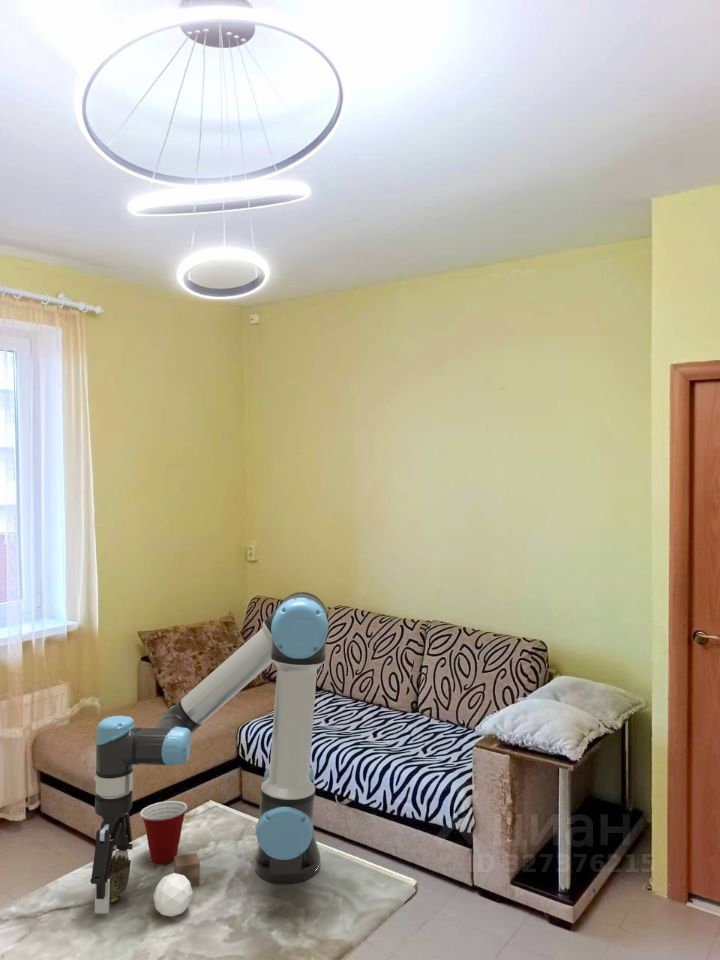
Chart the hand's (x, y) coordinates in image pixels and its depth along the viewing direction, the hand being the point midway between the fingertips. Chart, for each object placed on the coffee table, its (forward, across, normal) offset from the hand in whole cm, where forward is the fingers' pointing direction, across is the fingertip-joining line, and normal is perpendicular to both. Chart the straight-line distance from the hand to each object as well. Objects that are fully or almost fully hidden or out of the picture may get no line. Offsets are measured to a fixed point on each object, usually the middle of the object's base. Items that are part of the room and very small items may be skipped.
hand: (111, 896), depth 152 cm
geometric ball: (+1, +4, +14) cm, 15 cm away
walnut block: (+1, -8, +14) cm, 16 cm away
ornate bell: (+1, 0, 0) cm, 1 cm away
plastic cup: (+1, -18, +6) cm, 19 cm away
